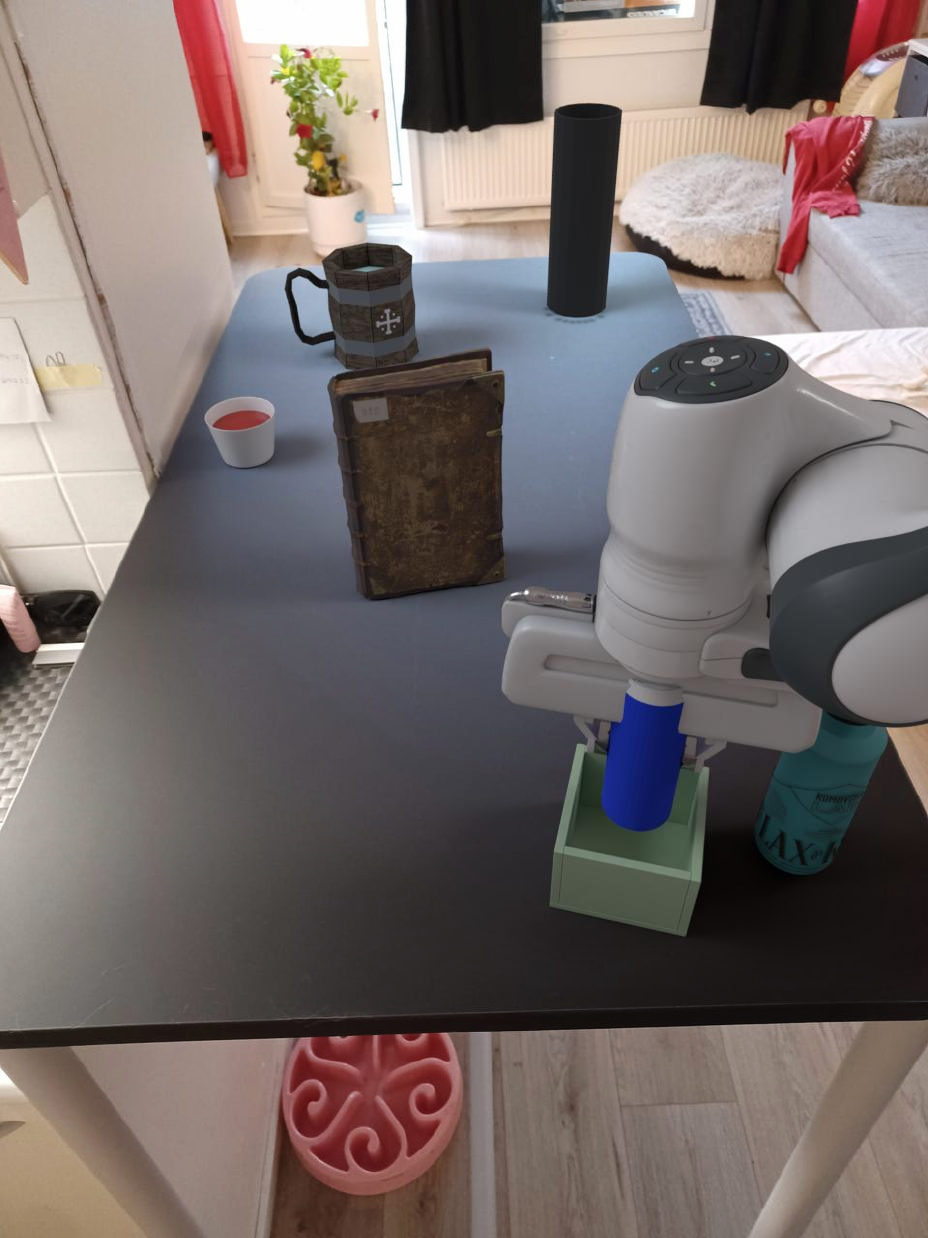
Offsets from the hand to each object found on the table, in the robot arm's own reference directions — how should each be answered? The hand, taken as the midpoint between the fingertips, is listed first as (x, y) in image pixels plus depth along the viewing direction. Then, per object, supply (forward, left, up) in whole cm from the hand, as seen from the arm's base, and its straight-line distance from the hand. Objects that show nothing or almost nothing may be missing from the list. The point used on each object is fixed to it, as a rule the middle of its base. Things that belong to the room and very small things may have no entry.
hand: (644, 755), depth 62 cm
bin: (0, 0, -14) cm, 14 cm away
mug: (+53, -83, -14) cm, 100 cm away
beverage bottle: (-13, -4, -14) cm, 19 cm away
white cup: (+57, -51, -14) cm, 78 cm away
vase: (+22, -109, -14) cm, 112 cm away
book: (+26, -32, -14) cm, 44 cm away
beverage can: (0, 0, -6) cm, 6 cm away
